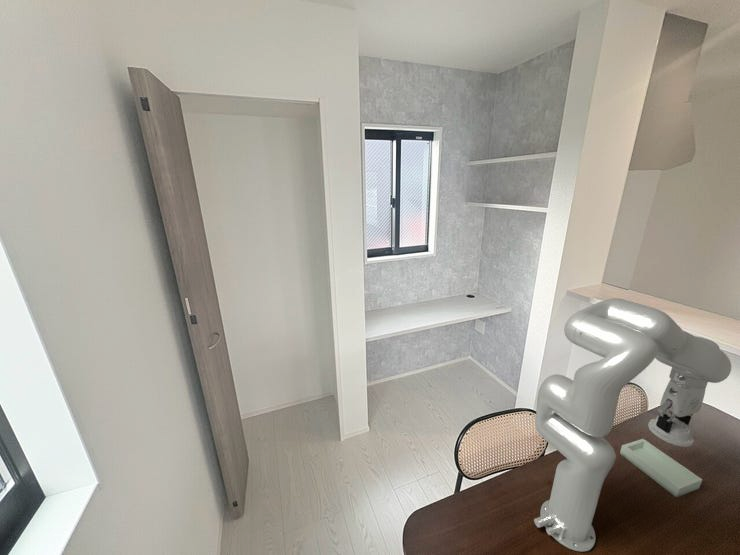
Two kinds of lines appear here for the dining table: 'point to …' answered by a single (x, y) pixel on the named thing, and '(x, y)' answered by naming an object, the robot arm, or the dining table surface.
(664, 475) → the tray
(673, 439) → the mechanical component
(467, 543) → the dining table surface
